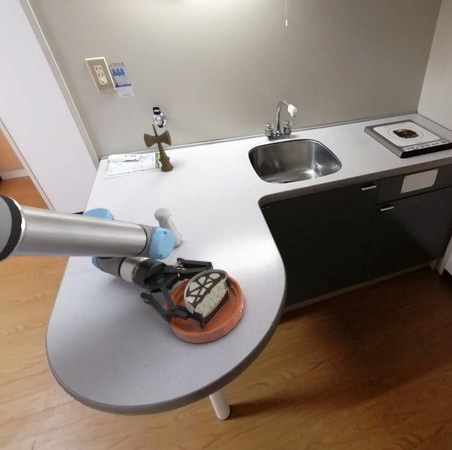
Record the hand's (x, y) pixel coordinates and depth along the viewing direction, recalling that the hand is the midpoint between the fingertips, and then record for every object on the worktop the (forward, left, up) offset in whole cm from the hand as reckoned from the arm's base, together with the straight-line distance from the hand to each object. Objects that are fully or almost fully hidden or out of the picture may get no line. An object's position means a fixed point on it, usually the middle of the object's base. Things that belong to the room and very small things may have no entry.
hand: (216, 300), depth 72 cm
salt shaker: (+16, +29, -7) cm, 34 cm away
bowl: (0, +4, -7) cm, 8 cm away
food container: (0, +4, -6) cm, 7 cm away
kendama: (+52, +64, -7) cm, 83 cm away
